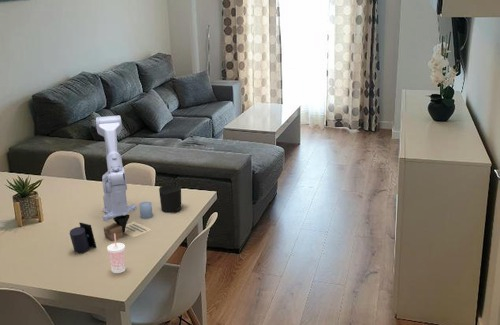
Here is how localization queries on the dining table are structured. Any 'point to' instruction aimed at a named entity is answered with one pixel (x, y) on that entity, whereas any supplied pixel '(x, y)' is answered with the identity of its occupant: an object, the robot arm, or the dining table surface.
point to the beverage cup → (117, 256)
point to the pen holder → (170, 198)
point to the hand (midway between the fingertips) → (122, 231)
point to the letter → (135, 229)
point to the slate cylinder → (145, 210)
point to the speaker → (82, 238)
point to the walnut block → (113, 231)
